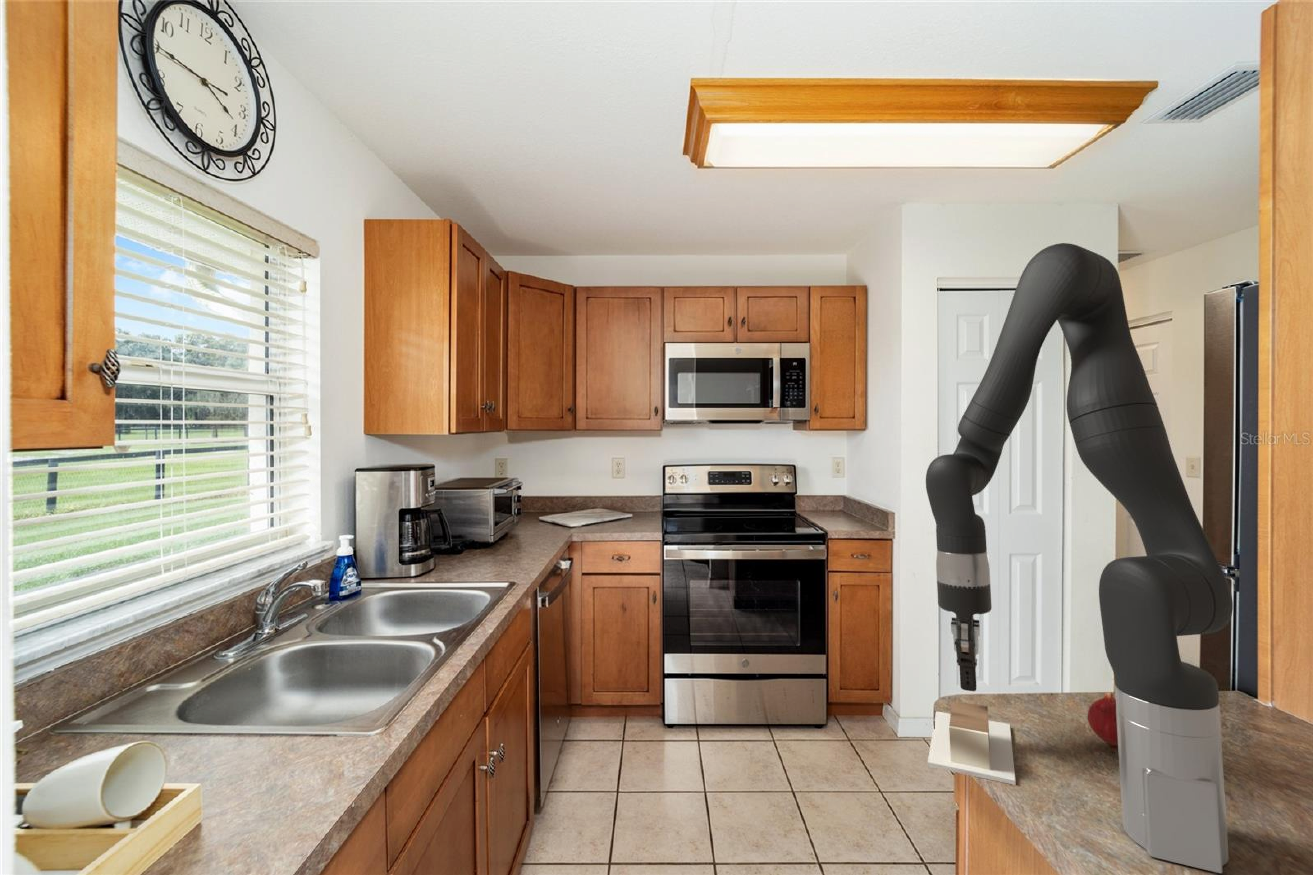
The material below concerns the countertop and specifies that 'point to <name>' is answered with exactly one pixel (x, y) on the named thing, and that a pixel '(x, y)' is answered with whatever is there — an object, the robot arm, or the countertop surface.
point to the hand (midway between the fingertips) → (968, 688)
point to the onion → (1104, 719)
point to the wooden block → (969, 735)
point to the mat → (998, 766)
